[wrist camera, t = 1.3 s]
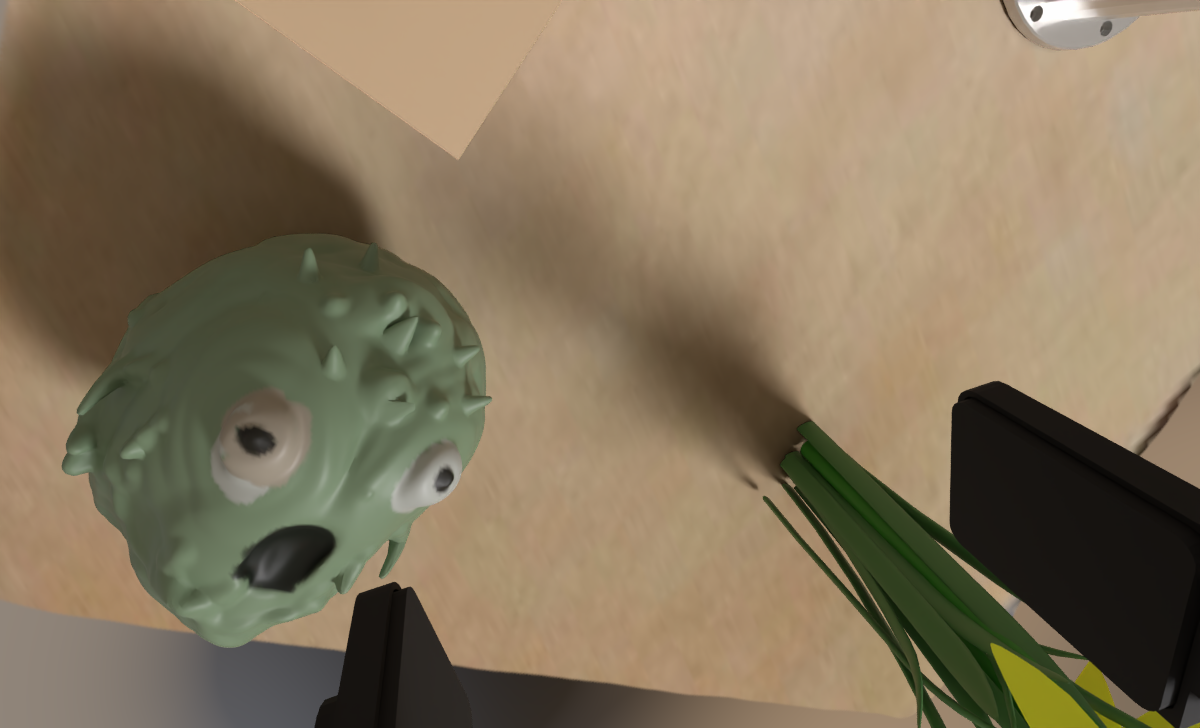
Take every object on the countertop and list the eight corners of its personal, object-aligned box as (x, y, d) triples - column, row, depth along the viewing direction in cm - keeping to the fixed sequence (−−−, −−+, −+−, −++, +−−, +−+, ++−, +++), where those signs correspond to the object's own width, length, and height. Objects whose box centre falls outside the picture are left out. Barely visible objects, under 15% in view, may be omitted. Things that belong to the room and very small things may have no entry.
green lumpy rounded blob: (110, 371, 36) (-216, 647, 19) (318, 123, 34) (170, 168, 16) (343, 506, 43) (268, 805, 25) (532, 308, 40) (598, 486, 23)
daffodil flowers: (916, 475, 54) (1572, 1025, 22) (773, 573, 55) (1208, 1231, 23) (840, 329, 46) (1667, 850, 15) (675, 446, 47) (1123, 1164, 16)
